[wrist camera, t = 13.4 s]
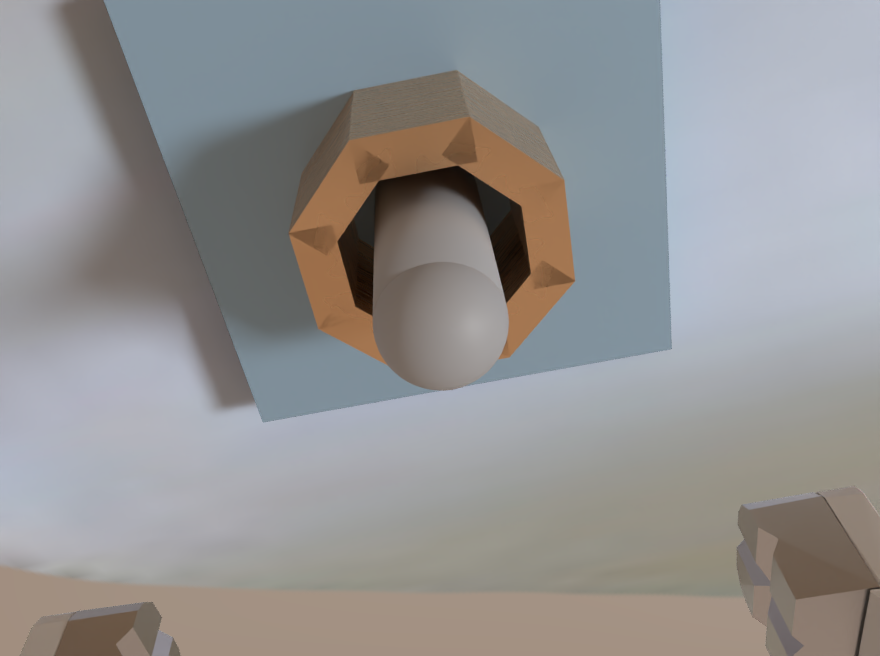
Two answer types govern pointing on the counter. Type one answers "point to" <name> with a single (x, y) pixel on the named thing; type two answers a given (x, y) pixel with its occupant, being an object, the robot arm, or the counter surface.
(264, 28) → the post base
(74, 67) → the counter surface
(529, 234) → the copper ring
